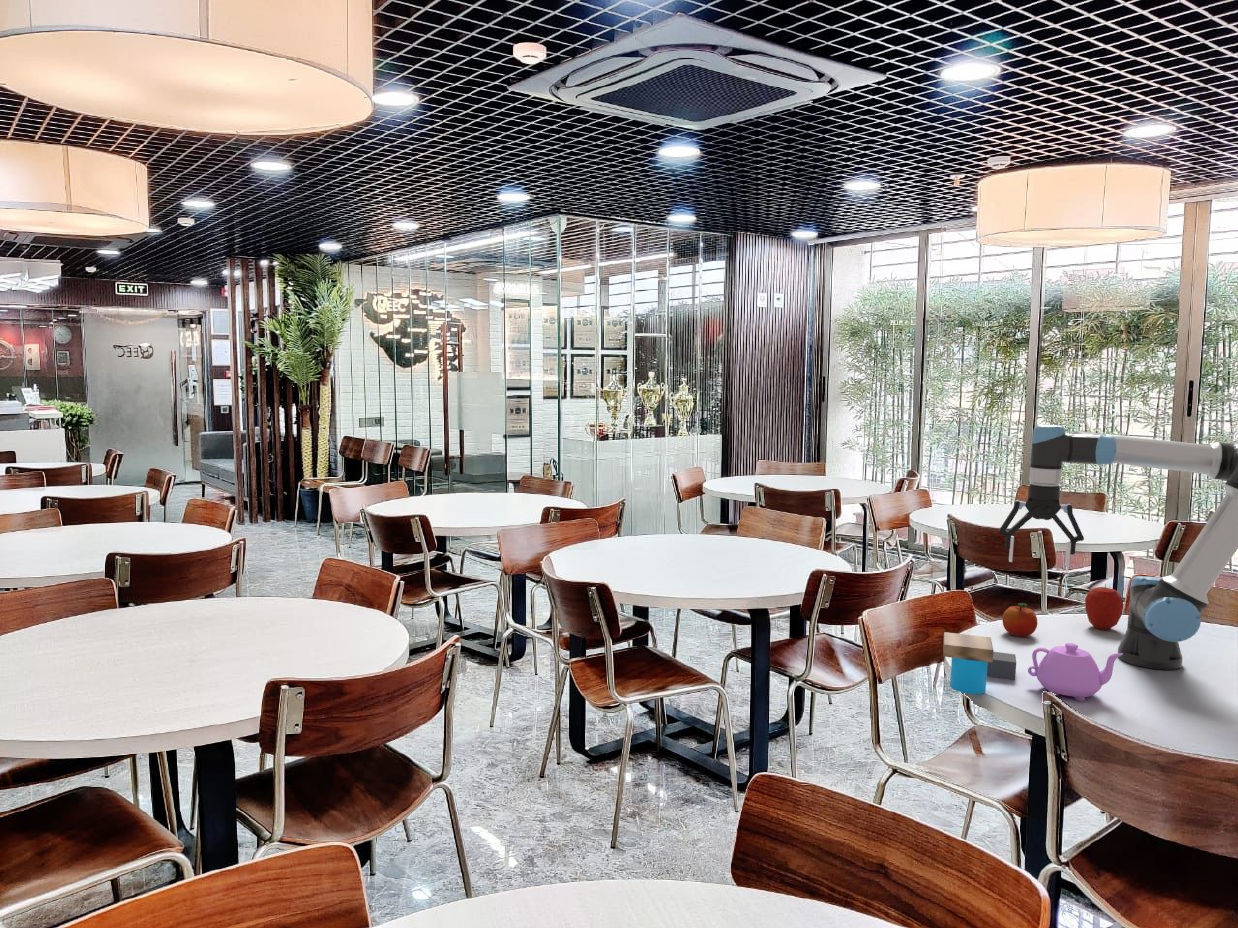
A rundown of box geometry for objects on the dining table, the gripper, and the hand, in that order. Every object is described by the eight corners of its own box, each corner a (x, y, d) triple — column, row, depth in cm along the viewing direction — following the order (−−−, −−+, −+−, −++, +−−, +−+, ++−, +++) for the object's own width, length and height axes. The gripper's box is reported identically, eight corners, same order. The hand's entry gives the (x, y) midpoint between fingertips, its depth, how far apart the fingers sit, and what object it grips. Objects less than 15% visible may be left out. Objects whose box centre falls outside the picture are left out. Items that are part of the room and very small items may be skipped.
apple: (1126, 629, 274) (1130, 584, 273) (1113, 635, 268) (1117, 589, 266) (1090, 621, 282) (1094, 577, 281) (1077, 627, 275) (1081, 582, 274)
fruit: (1032, 631, 270) (1035, 598, 269) (1039, 640, 260) (1042, 607, 259) (998, 628, 272) (1000, 596, 271) (1004, 637, 263) (1006, 604, 261)
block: (990, 648, 225) (990, 637, 225) (992, 662, 215) (993, 650, 214) (943, 643, 229) (944, 631, 228) (943, 656, 218) (944, 644, 218)
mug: (989, 695, 216) (992, 662, 215) (954, 692, 217) (956, 659, 216) (976, 678, 228) (978, 646, 227) (943, 675, 229) (945, 644, 228)
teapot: (1120, 693, 219) (1124, 644, 218) (1117, 712, 207) (1121, 660, 205) (1030, 677, 229) (1034, 630, 228) (1022, 693, 217) (1026, 644, 216)
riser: (1014, 671, 233) (1015, 654, 233) (1015, 679, 227) (1016, 662, 226) (984, 667, 236) (986, 650, 235) (985, 675, 229) (986, 658, 229)
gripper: (1096, 485, 235) (1089, 565, 237) (992, 479, 244) (987, 556, 246) (1099, 489, 228) (1093, 571, 230) (993, 482, 237) (987, 561, 239)
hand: (1038, 563), depth 238 cm, fingers open, 13 cm apart
